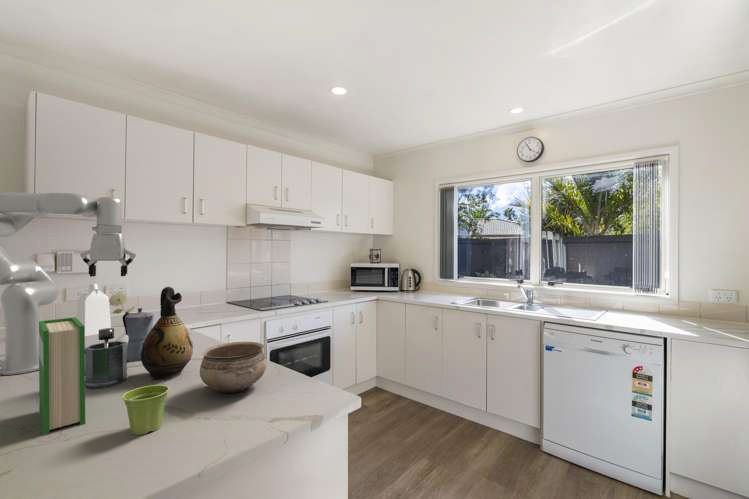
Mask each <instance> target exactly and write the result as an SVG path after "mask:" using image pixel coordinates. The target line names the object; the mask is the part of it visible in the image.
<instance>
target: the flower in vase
mask: <svg viewBox="0 0 749 499" xmlns="http://www.w3.org/2000/svg"><path fill="white" fill-rule="evenodd" d="M128 300H129V294H128V292H125V291H124V290H123V291H122V290H121V291H116V292H115V293H113V294H112V295H111V296H110V298H109V305H110V306H114V307H119V306H121V307H122V308H116V309H115V310H114V311H113V312H112V314H117V315H119V314H121V313H122V312H123V311H124V313H126V312H128V313H132V311H134V310H135V305H134V306H132V307H129V308H128V309H127V310H125V309H124V305H123V304H125V303H126V302H127V301H128ZM125 320H126V319H125ZM128 340H129V339H128V335H126V331H125V330H124V332H123V334H121V335H120V336H119V337H117V338H116V339H115V341H122V342H127V344H128Z"/></svg>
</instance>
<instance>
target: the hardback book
mask: <svg viewBox="0 0 749 499" xmlns="http://www.w3.org/2000/svg"><path fill="white" fill-rule="evenodd" d="M85 337H86V336H85V326H84V325H83V324H82V323H81V322H80V321H79V320H78V319H77V316H75V317H66V318H57V319H47V320H42V321H39V370H38V371H39V372H38V373H39V374H38V376H39V377H38V379H39V380H38V381H39V382H38V383H39V387H38V388H39V389H38V390H39V393H38V394H39V398H38V399H39V401H38V402H39V403H38V404H39V405H38V406H39V407H38V408H39V411H38V412H39V418H40V422H41V428H42V433H43V436H47V435H50V431H51V430H54V429H58V428H62V427H65V426H70V425H72V424H76V423H79V425H80V426H82V425H86V388H85V348H86V347H85V346H86V338H85Z"/></svg>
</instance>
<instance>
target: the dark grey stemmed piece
mask: <svg viewBox="0 0 749 499" xmlns="http://www.w3.org/2000/svg"><path fill="white" fill-rule="evenodd" d="M114 338H115V328H114V327H111V328H105V329H100V330H99V334H98V341H104V342H105V348H108V342H109V340H113V339H114Z"/></svg>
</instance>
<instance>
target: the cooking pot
mask: <svg viewBox="0 0 749 499" xmlns="http://www.w3.org/2000/svg"><path fill="white" fill-rule="evenodd" d="M264 348H265V345H264V344H263V343H261V342H256V341H234V342H226V343H221V344H217V345H212V346H210V347H208V348H206V349H204V350H202V352H201V354H202V355H203V359H202V360H201V364H200V367H199V377H200V378H201V381H202V383H203V384H205V385H206V386H207V387H208V388H211V389H214V390H216V391H218V392H222V393H225V394H236V393H241V392H243V391H245V390H247V388H249V387H251V386H252V385H254V384H255V383H257V382H258V381H259V380H260V379H261V378H262V377H263V375H264V374H265V372H266V369H267V365H268V363H267V358H266V355H265V352H264Z"/></svg>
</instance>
